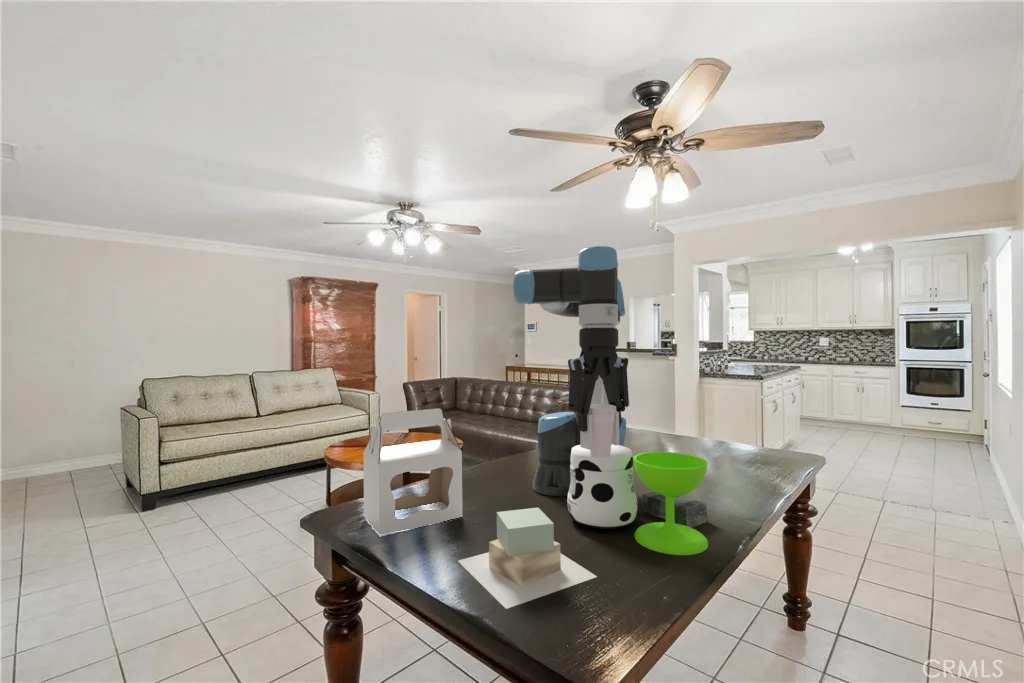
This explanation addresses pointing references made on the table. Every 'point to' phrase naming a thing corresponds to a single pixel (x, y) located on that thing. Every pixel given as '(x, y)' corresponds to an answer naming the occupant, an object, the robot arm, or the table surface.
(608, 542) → the table surface
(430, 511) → the gable box
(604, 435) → the smoothie
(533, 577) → the beech tray
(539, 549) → the sage block
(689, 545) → the wineglass
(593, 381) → the robot arm
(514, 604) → the felt mat
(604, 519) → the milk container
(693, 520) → the stone block
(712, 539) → the table surface
